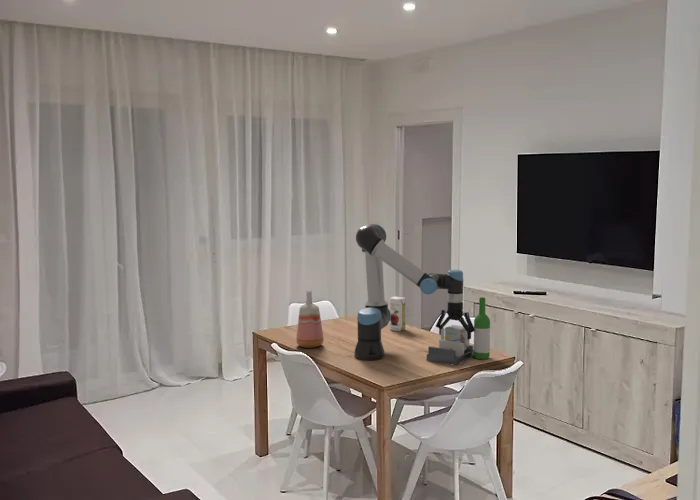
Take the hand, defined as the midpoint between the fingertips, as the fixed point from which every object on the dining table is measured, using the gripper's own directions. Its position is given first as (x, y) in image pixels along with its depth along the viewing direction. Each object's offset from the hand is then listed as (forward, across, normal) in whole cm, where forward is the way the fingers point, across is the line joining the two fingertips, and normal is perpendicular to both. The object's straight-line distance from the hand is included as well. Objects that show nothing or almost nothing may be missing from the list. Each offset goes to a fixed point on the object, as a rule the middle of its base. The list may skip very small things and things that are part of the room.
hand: (454, 343), depth 329 cm
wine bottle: (+6, +13, +4) cm, 15 cm away
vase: (+7, -72, -25) cm, 76 cm away
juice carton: (+6, -52, +31) cm, 61 cm away
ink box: (+4, 0, +1) cm, 4 cm away
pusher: (+5, 0, -6) cm, 8 cm away
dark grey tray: (+6, 0, -4) cm, 7 cm away
